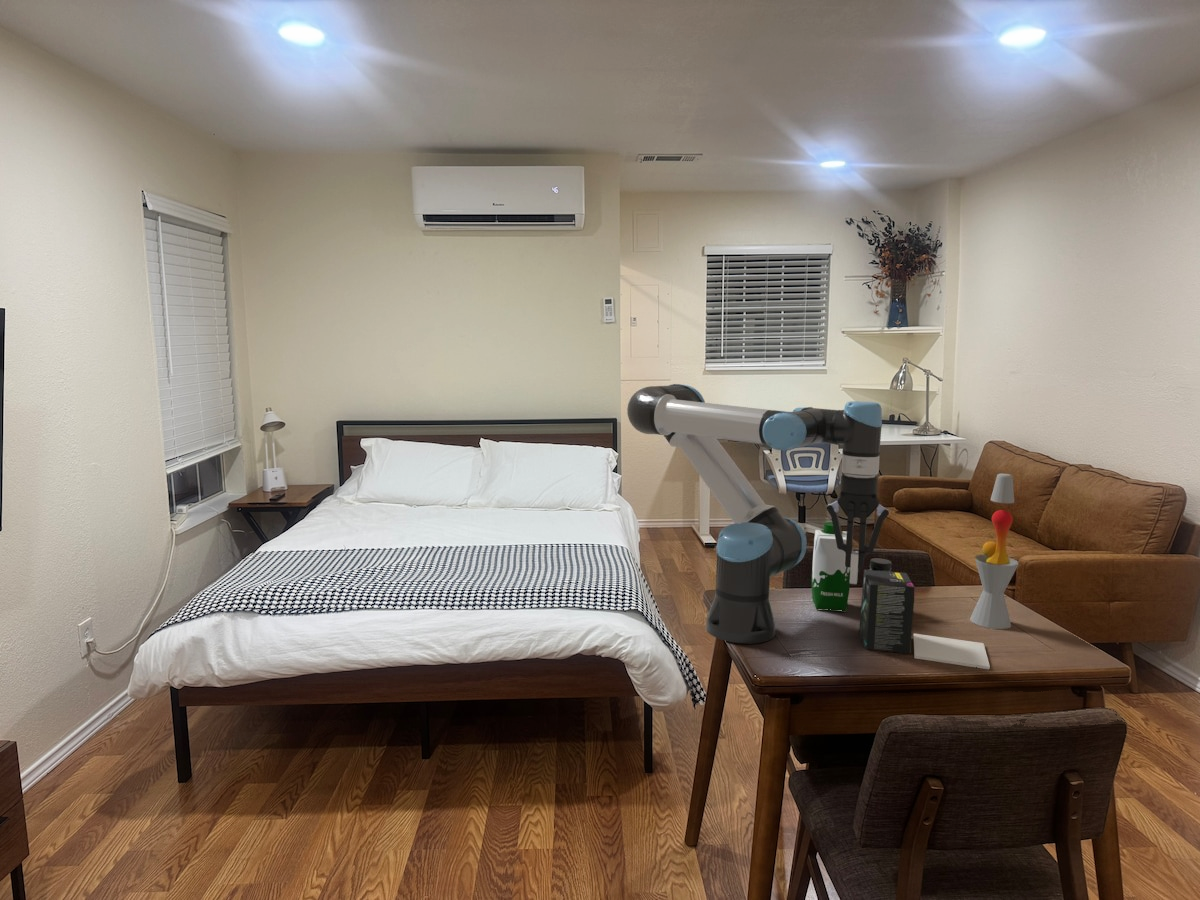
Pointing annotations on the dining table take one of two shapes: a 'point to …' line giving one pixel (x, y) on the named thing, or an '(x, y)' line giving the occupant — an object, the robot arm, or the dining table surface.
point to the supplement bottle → (880, 564)
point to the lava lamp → (996, 563)
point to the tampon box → (887, 611)
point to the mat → (950, 651)
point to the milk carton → (829, 571)
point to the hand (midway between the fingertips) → (853, 582)
